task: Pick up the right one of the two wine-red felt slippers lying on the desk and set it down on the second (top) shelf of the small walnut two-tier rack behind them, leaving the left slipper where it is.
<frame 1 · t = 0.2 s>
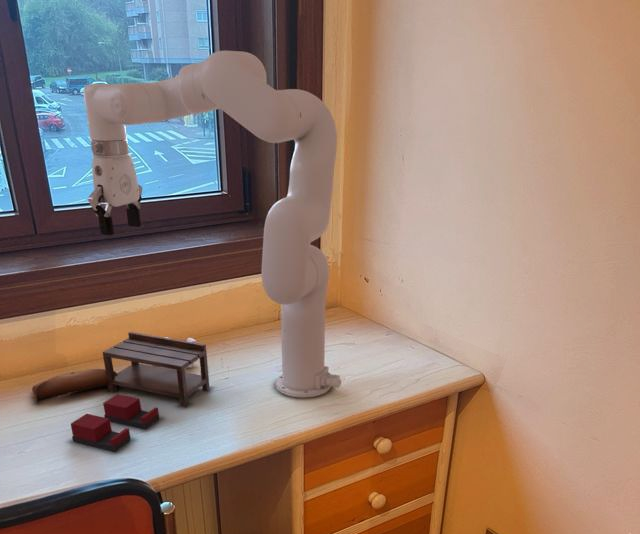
hand: (121, 230, 146), 31 cm above the table, tool pointing down, fingers open, 9 cm apart
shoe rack: (159, 390, 144), on the table
left slipper: (102, 441, 124), on the table
bracket: (170, 362, 158), on the table
sunglasses case: (76, 389, 144), on the table, touching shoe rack
right slipper: (132, 419, 132), on the table
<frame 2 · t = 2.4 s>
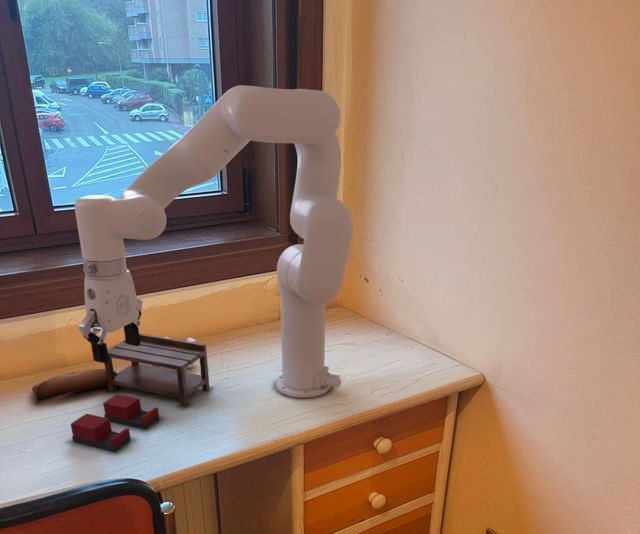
hand: (117, 353, 126), 14 cm above the table, tool pointing down, fingers open, 9 cm apart
nothing on the table moved.
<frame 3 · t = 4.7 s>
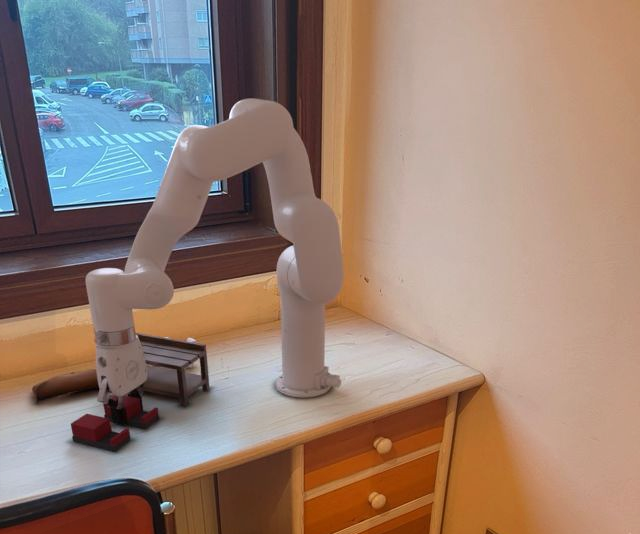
hand: (128, 417, 132), 0 cm above the table, tool pointing down, fingers closed on right slipper, 4 cm apart
right slipper: (132, 419, 132), on the table, touching gripper
everything else where it was.
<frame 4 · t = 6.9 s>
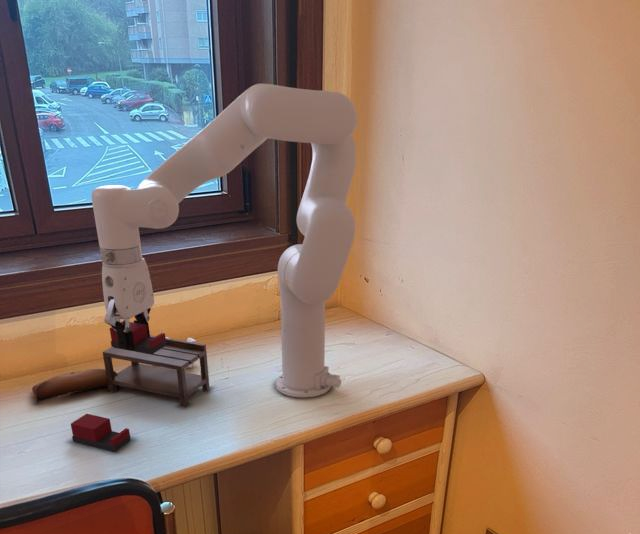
hand: (135, 343, 131), 14 cm above the table, tool pointing down, fingers closed on right slipper, 4 cm apart
right slipper: (139, 346, 130), point 14 cm above the table, touching gripper
everything else where it was.
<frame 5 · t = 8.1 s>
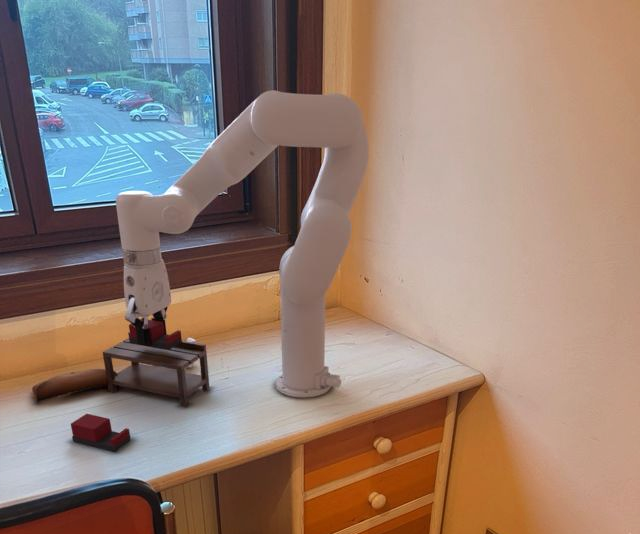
hand: (152, 340, 138), 12 cm above the table, tool pointing down, fingers closed on right slipper, 4 cm apart
right slipper: (156, 342, 138), point 12 cm above the table, touching gripper
everything else where it was.
when the fingers open (10 cm above the table, at t = 9.2 s): right slipper stays where it is, resting on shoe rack.
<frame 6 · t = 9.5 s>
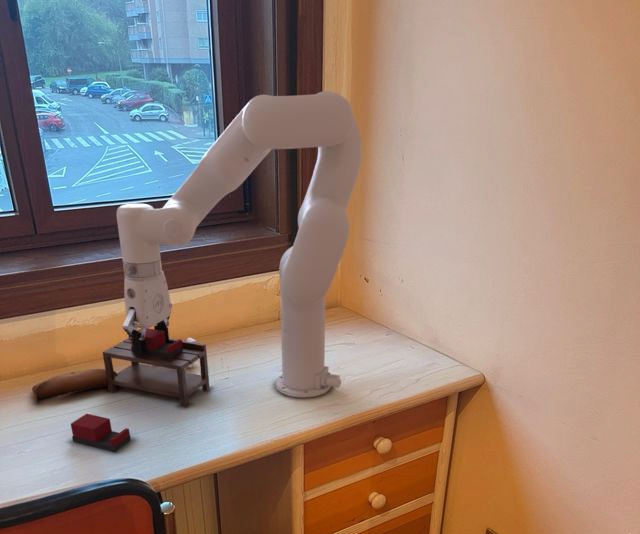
hand: (152, 349, 139), 10 cm above the table, tool pointing down, fingers open, 7 cm apart
right slipper: (157, 351, 139), point 9 cm above the table, touching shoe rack
everything else where it was.
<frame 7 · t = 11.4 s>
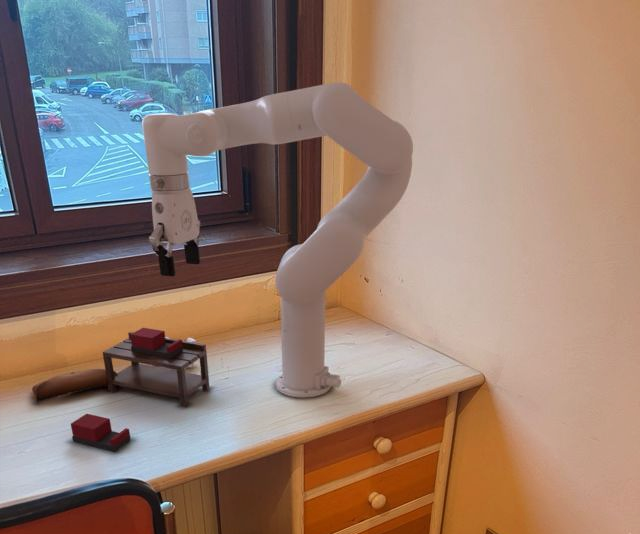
hand: (181, 269, 135), 26 cm above the table, tool pointing down, fingers open, 9 cm apart
nothing on the table moved.
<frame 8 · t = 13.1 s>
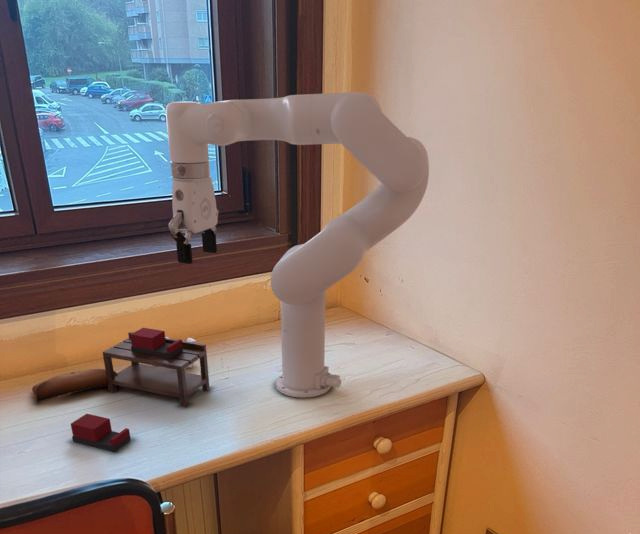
hand: (198, 257, 136), 28 cm above the table, tool pointing down, fingers open, 9 cm apart
nothing on the table moved.
at the end: right slipper inside the target area on the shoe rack (0.8 cm from its centre), point 9.5 cm above the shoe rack's base; right slipper tilted 0°; left slipper moved 0.0 cm from its start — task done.
